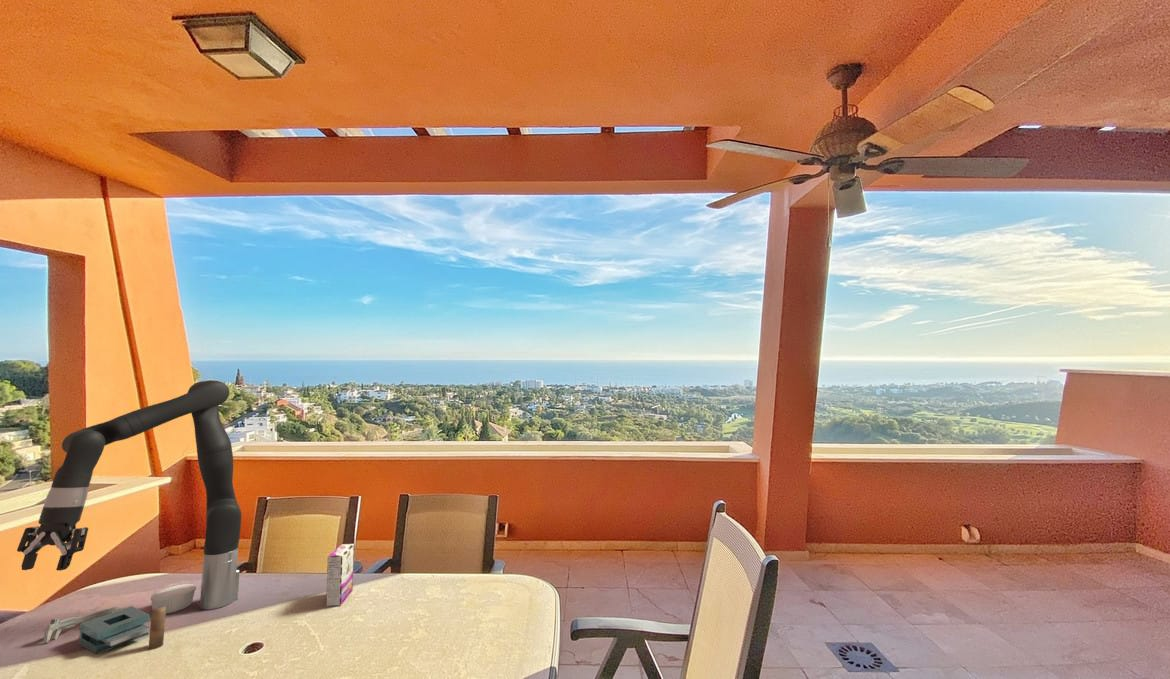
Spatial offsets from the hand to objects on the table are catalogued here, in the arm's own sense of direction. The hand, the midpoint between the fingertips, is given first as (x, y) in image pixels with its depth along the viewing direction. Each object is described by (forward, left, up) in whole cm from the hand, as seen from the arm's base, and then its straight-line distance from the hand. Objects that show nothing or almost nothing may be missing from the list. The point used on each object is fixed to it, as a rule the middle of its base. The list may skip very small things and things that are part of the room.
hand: (44, 569), depth 118 cm
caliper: (-15, -19, -26) cm, 36 cm away
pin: (-19, +15, -25) cm, 35 cm away
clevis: (-16, +1, -25) cm, 30 cm away
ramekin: (-32, -8, -26) cm, 42 cm away
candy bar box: (-60, +36, -25) cm, 74 cm away
